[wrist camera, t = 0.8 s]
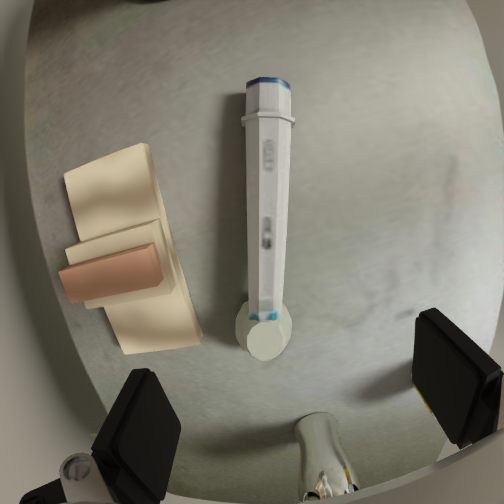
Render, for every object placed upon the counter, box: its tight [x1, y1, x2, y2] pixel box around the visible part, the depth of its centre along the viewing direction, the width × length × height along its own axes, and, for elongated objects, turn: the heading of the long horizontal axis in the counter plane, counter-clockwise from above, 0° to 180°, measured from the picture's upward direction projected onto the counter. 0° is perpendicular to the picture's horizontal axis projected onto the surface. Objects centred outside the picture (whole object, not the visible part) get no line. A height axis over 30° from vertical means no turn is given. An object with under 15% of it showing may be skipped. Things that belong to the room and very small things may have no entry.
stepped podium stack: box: [58, 143, 203, 354], centre depth 25 cm, size 20×9×7 cm, turn 13°
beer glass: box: [294, 413, 361, 503], centre depth 28 cm, size 7×7×15 cm
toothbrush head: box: [236, 77, 295, 360], centre depth 26 cm, size 5×7×25 cm
